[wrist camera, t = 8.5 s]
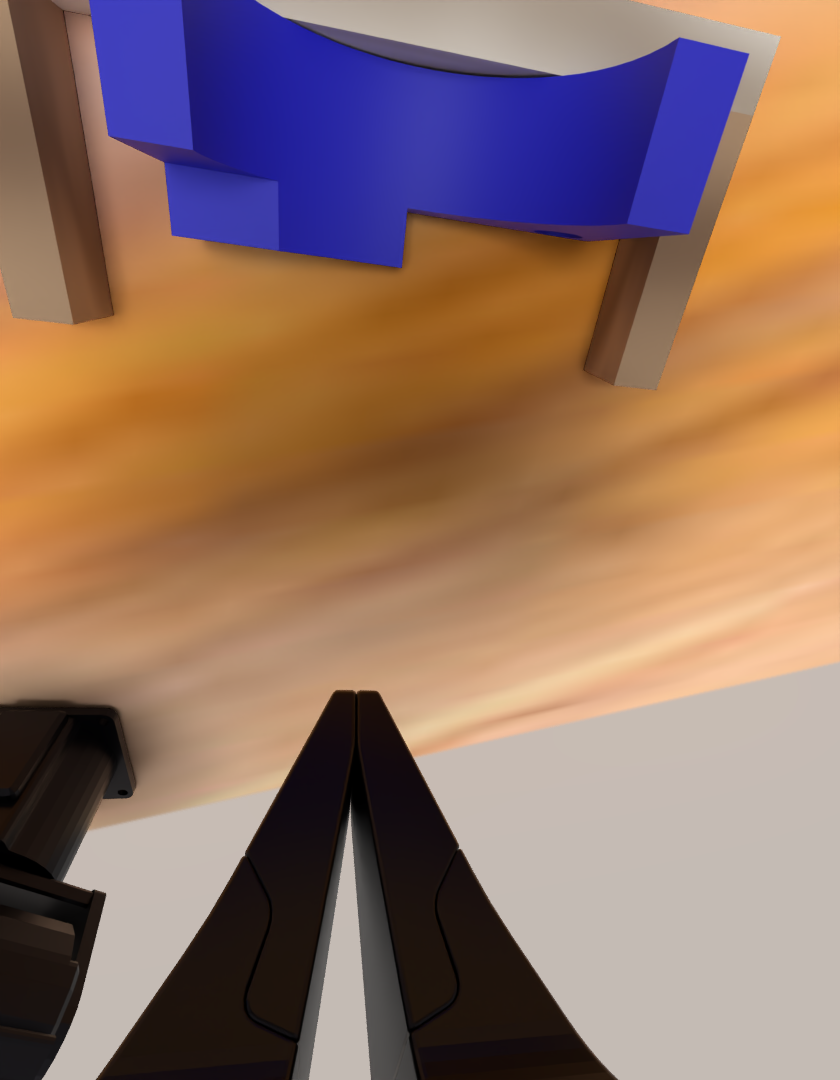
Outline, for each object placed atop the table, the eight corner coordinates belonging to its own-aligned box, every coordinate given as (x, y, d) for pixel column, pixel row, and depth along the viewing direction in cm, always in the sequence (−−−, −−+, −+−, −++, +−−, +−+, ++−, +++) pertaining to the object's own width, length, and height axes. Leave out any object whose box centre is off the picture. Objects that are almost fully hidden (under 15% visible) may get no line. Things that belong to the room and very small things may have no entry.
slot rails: (621, 374, 18) (656, 390, 16) (61, 309, 15) (12, 317, 13) (717, 69, 14) (781, 36, 12) (-24, -95, 11) (-115, -178, 9)
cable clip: (204, 239, 15) (122, 229, 10) (189, 40, 13) (73, -106, 8) (571, 291, 17) (664, 307, 12) (613, 125, 15) (749, 53, 10)
